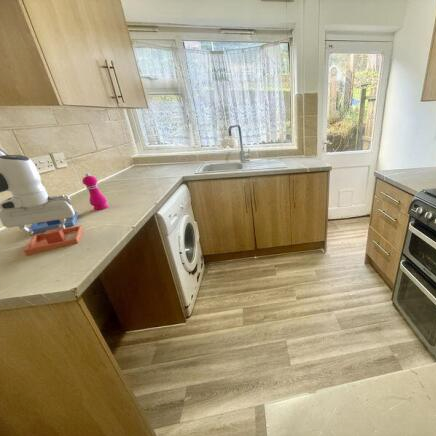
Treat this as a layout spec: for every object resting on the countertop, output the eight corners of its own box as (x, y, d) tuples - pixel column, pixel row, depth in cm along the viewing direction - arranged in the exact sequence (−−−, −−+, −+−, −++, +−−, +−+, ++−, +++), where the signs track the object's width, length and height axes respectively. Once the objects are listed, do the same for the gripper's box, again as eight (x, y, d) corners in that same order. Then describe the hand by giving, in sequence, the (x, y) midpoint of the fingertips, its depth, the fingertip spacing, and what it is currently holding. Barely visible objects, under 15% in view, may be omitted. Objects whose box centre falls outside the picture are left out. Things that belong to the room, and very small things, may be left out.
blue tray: (29, 235, 106) (27, 230, 105) (38, 223, 118) (36, 218, 116) (74, 226, 113) (72, 221, 112) (78, 216, 125) (76, 211, 124)
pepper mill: (112, 207, 135) (98, 171, 127) (98, 212, 129) (82, 175, 121) (104, 205, 138) (90, 171, 130) (90, 210, 132) (74, 174, 124)
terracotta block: (48, 244, 97) (43, 234, 95) (51, 240, 100) (46, 230, 98) (63, 241, 99) (58, 231, 97) (65, 237, 102) (60, 227, 100)
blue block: (48, 226, 112) (44, 218, 111) (50, 223, 116) (46, 214, 114) (61, 224, 115) (57, 215, 113) (63, 221, 118) (59, 212, 116)
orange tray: (26, 256, 90) (23, 250, 89) (37, 240, 102) (34, 234, 101) (78, 244, 97) (76, 238, 96) (83, 230, 109) (81, 225, 108)
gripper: (69, 192, 100) (81, 223, 105) (-3, 201, 89) (14, 234, 95) (66, 196, 95) (79, 228, 100) (-10, 206, 85) (8, 241, 90)
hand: (47, 231), depth 97 cm, fingers open, 8 cm apart
